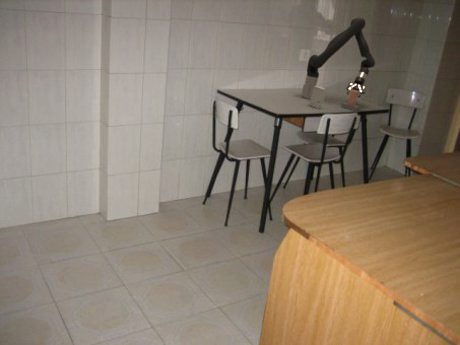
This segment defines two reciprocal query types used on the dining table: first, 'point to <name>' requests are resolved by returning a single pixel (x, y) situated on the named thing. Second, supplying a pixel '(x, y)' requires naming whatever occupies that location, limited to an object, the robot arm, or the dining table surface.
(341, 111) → the dining table surface
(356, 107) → the charcoal block
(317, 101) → the skincare box
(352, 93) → the brick pillar
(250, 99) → the dining table surface
